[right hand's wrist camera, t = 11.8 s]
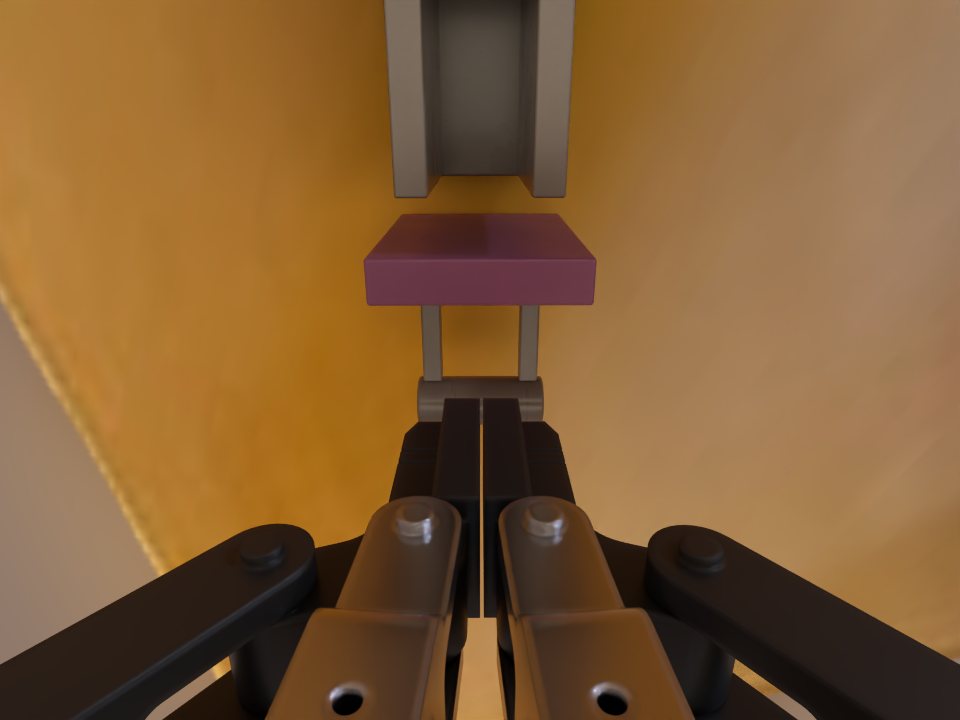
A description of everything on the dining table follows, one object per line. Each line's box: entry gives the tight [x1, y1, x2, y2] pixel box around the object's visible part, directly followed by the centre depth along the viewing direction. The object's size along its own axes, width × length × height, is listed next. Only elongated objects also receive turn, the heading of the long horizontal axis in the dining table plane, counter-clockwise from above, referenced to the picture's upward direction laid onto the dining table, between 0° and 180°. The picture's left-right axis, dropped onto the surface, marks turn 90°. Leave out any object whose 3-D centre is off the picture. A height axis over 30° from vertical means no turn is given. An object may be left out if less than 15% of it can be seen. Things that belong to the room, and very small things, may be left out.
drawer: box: [364, 0, 596, 425], centre depth 16 cm, size 23×6×8 cm, turn 0°
